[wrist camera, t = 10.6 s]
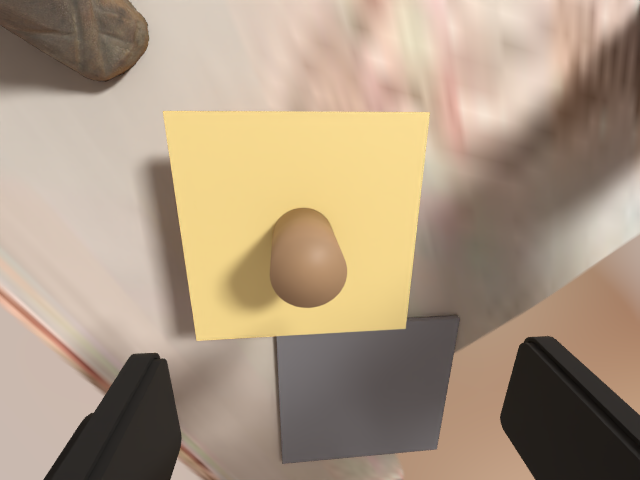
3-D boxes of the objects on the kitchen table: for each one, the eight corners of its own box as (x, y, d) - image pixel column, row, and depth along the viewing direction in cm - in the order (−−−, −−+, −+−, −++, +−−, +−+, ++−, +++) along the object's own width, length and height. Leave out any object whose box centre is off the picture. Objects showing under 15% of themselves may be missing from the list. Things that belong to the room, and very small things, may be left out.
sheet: (425, 112, 19) (478, 114, 14) (402, 323, 24) (435, 382, 19) (166, 110, 18) (119, 112, 13) (198, 335, 23) (174, 401, 18)
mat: (457, 315, 31) (459, 318, 30) (434, 445, 37) (436, 449, 36) (276, 325, 29) (276, 328, 29) (282, 458, 35) (282, 463, 35)
